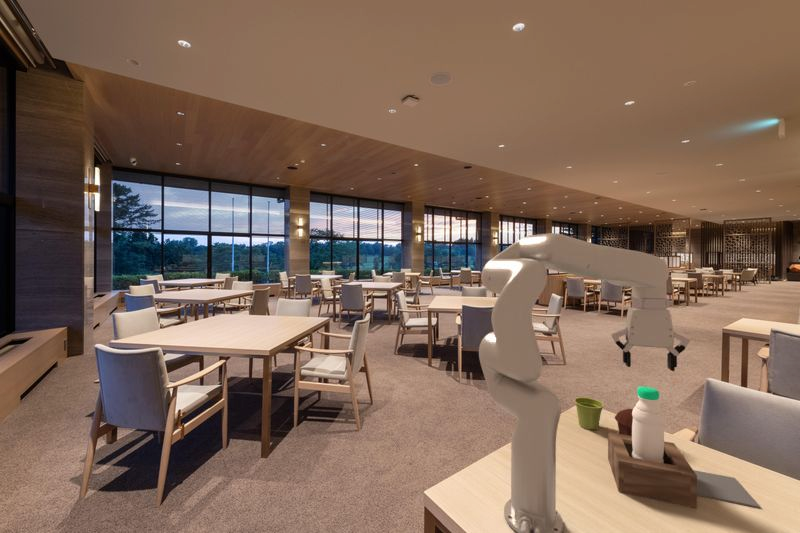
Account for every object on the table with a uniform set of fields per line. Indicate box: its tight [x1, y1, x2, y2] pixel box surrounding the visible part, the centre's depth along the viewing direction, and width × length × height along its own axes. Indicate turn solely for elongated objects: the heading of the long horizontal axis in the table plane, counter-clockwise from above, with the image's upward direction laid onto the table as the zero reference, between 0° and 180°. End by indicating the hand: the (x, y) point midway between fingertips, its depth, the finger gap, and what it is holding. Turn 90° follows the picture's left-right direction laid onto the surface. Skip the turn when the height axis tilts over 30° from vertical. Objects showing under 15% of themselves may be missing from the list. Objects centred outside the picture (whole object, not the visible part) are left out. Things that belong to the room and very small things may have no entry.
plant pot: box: [573, 396, 605, 431], centre depth 123 cm, size 9×9×9 cm
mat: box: [693, 469, 761, 509], centre depth 90 cm, size 12×12×1 cm
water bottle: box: [632, 386, 665, 463], centre depth 92 cm, size 7×7×25 cm
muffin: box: [614, 408, 634, 436], centre depth 113 cm, size 12×11×10 cm
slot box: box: [607, 431, 698, 510], centre depth 92 cm, size 16×16×8 cm
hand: (649, 367), depth 92 cm, fingers open, 9 cm apart
